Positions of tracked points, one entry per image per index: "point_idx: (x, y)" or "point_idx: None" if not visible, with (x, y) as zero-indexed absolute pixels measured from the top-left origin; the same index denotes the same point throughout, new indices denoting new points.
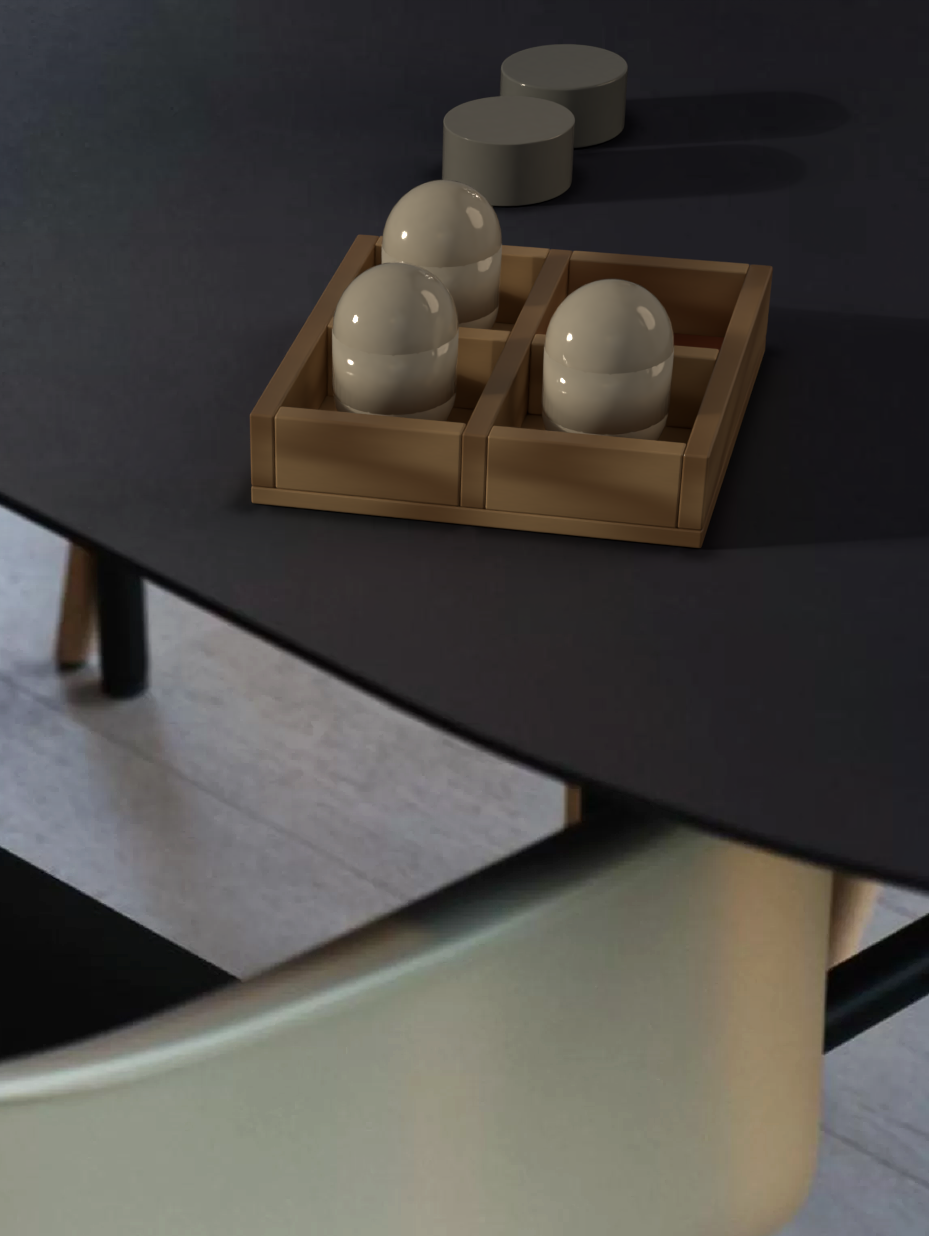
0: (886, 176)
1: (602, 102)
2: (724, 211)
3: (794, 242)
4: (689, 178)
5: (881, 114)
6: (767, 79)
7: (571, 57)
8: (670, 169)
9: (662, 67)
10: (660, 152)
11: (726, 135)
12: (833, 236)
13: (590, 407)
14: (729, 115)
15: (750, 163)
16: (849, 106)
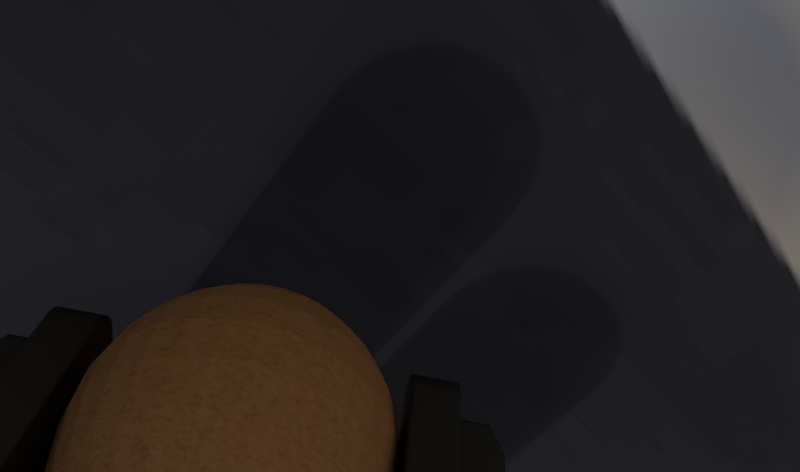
0: (724, 245)
1: None
2: (598, 445)
3: (729, 459)
4: (491, 404)
5: (563, 42)
6: (285, 49)
7: None
8: None
9: (117, 130)
10: (397, 369)
11: (421, 275)
12: (765, 424)
13: None
14: (365, 216)
15: (522, 326)
16: (491, 51)
